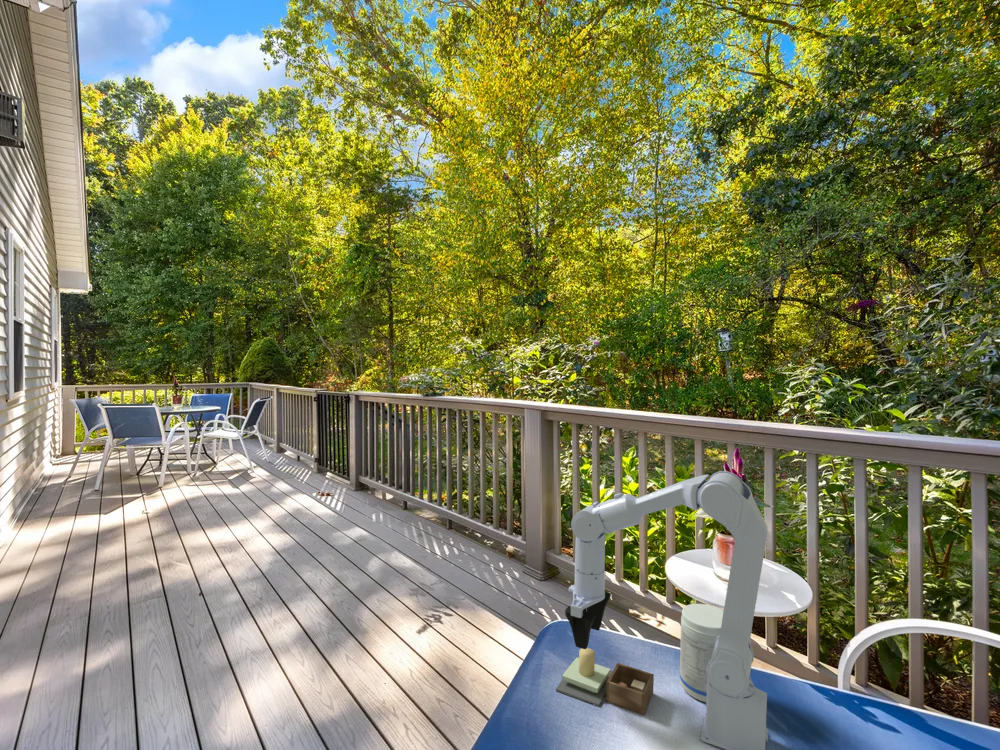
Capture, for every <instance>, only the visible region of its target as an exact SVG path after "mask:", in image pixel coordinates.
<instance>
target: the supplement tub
mask: <svg viewBox="0 0 1000 750" xmlns="http://www.w3.org/2000/svg"><path fill="white" fill-rule="evenodd" d="M723 612H724V609H721V608H719V607H717V606H714V605H712V604H706V603H705V604H704V603H691V604H688V605H685V606H684V607H683V608H682V611H681V616H680V645H679V646H680V652H679V656H680V657H679V660H680V661H679V682H680V683H679V684H680V685H681V687H682V688H683V690H684V691H685V693H687V694H688V695H690V696H691V697H692V698H694V699H696V700H697V701H698V700H699V701H701V702H704V703H706V702H707V665H708V662H709V661H710V659H711V656H712V653H713V650H714V645H715V641H716V639H717V637H718V636H719V635H720V630H721V624H722V618H723Z"/></svg>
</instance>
